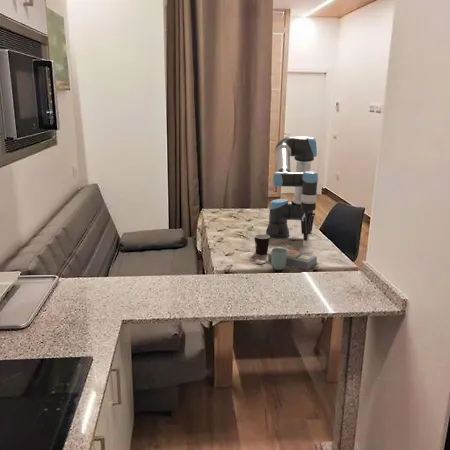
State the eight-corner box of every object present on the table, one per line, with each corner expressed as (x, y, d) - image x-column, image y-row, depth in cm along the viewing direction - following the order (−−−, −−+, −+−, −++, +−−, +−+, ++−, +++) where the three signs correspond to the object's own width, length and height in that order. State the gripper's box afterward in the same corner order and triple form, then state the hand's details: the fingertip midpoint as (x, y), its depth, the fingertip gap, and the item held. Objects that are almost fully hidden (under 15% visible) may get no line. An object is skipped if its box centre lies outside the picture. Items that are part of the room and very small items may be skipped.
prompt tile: (259, 259, 245) (259, 258, 245) (267, 261, 242) (267, 260, 242) (253, 263, 240) (253, 261, 240) (261, 265, 237) (261, 263, 237)
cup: (275, 264, 238) (276, 247, 235) (288, 268, 234) (289, 249, 231) (268, 269, 232) (268, 250, 229) (281, 272, 228) (282, 253, 225)
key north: (302, 261, 242) (302, 254, 241) (312, 263, 239) (312, 256, 238) (297, 264, 237) (297, 257, 236) (307, 266, 234) (308, 259, 233)
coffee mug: (268, 256, 251) (268, 239, 249) (253, 255, 253) (253, 238, 250) (270, 249, 262) (271, 233, 260) (255, 248, 264) (256, 232, 261)
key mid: (289, 256, 246) (290, 249, 245) (299, 258, 242) (299, 251, 241) (284, 259, 241) (285, 252, 240) (294, 261, 238) (295, 254, 237)
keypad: (278, 255, 253) (278, 248, 252) (316, 263, 241) (316, 256, 240) (268, 260, 244) (268, 253, 243) (306, 269, 231) (307, 262, 230)
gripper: (307, 198, 236) (304, 241, 243) (296, 203, 226) (293, 247, 233) (320, 200, 232) (317, 244, 239) (310, 205, 222) (307, 250, 228)
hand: (305, 245), depth 236 cm, fingers closed
